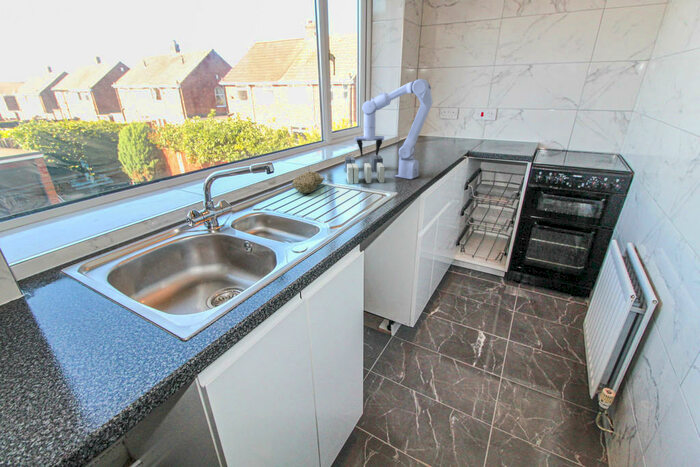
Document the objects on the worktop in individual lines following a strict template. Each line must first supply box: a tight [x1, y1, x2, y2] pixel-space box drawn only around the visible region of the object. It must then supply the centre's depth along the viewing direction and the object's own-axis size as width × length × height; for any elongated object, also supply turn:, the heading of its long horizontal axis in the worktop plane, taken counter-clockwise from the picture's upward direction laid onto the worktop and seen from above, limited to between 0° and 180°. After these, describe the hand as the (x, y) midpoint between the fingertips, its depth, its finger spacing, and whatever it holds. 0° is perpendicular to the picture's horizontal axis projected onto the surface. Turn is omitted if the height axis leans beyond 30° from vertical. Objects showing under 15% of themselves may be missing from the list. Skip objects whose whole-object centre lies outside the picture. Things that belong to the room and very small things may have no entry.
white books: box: [346, 162, 385, 185], centre depth 156 cm, size 17×9×8 cm, turn 94°
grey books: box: [344, 155, 384, 173], centre depth 177 cm, size 19×9×6 cm, turn 94°
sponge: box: [292, 171, 325, 194], centre depth 143 cm, size 13×8×20 cm
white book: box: [363, 162, 373, 184], centre depth 156 cm, size 2×9×8 cm, turn 4°
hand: (369, 155), depth 166 cm, fingers open, 7 cm apart
